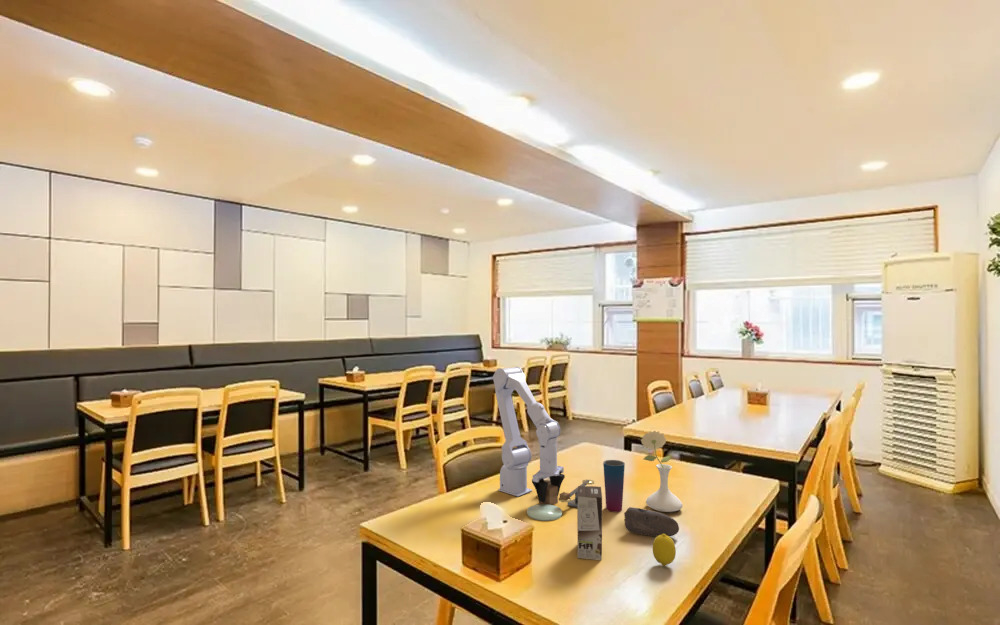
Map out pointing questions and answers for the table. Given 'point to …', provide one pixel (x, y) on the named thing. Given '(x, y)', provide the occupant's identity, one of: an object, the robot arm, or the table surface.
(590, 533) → the coffee box
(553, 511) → the dish
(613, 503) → the cup
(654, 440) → the flower in vase
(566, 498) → the balance
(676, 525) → the perforated stone tool
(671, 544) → the lemon
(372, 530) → the table surface
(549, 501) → the walnut block
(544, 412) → the robot arm
